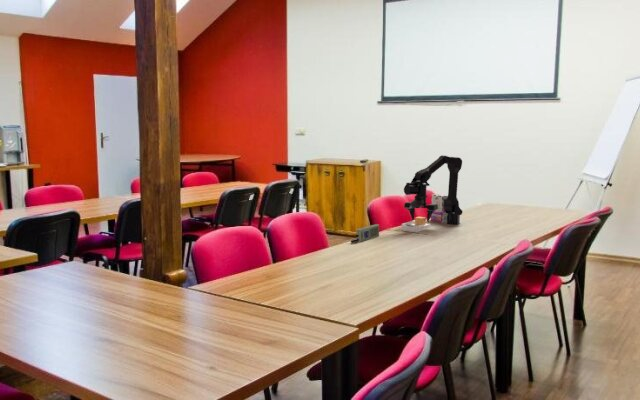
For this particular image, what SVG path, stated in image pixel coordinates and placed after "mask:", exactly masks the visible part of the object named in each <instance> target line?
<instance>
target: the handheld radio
mask: <svg viewBox="0 0 640 400" xmlns="http://www.w3.org/2000/svg"><path fill="white" fill-rule="evenodd" d="M378 237H380V224H378V223H376V224H370V225H368V226H363V227H360V228H357V229H356V230H355V239H352V240H350V243H351V244H353V243H361V242H365V241H368V240H371V239H375V238H378Z"/></svg>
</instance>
